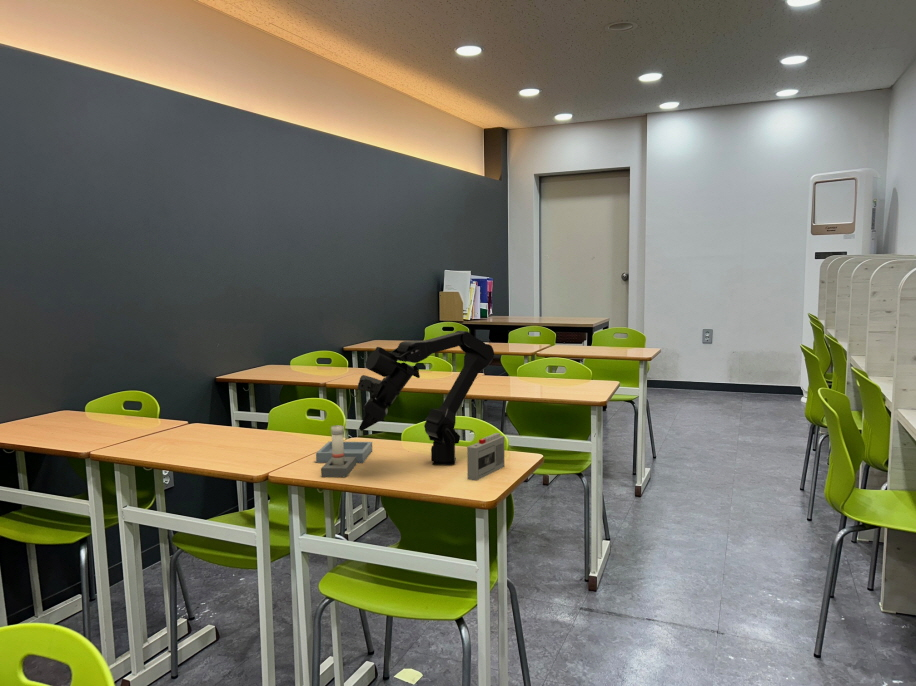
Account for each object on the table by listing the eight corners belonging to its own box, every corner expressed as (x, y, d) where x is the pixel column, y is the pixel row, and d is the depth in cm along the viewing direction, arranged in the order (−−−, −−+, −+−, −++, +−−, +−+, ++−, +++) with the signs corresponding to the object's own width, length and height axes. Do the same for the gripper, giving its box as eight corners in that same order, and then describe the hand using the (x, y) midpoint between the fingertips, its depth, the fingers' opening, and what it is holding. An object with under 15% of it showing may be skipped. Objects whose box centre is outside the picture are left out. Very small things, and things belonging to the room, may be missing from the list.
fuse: (345, 470, 187) (344, 425, 185) (342, 473, 183) (341, 428, 182) (334, 470, 187) (332, 425, 186) (330, 473, 184) (329, 428, 182)
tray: (372, 451, 208) (372, 441, 207) (362, 463, 194) (362, 453, 193) (329, 450, 209) (328, 441, 208) (316, 462, 195) (316, 452, 194)
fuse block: (356, 465, 192) (356, 456, 192) (346, 477, 180) (346, 468, 180) (332, 464, 192) (332, 456, 192) (321, 477, 180) (321, 468, 180)
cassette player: (476, 481, 176) (475, 444, 175) (467, 479, 177) (467, 443, 176) (504, 467, 189) (504, 432, 188) (496, 465, 190) (496, 431, 189)
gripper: (376, 358, 192) (346, 399, 194) (365, 372, 173) (332, 418, 176) (407, 380, 193) (377, 421, 195) (399, 397, 174) (366, 442, 177)
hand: (363, 424), depth 186 cm, fingers open, 9 cm apart
